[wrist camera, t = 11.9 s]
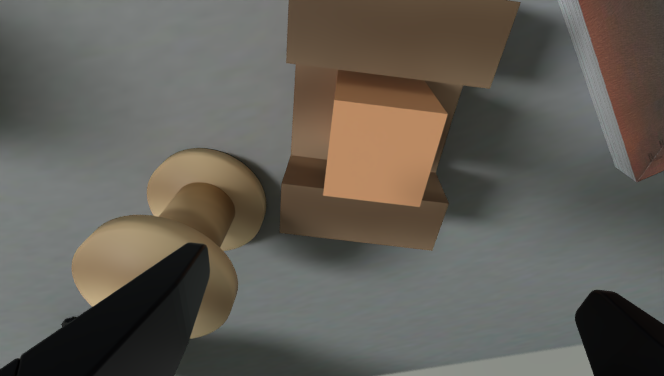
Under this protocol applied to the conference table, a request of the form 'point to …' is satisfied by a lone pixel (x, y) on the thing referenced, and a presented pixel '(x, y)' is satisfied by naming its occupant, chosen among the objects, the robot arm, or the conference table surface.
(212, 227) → the spool
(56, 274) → the conference table surface
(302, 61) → the notch board
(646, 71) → the picture frame
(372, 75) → the light brown wooden block
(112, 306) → the robot arm
